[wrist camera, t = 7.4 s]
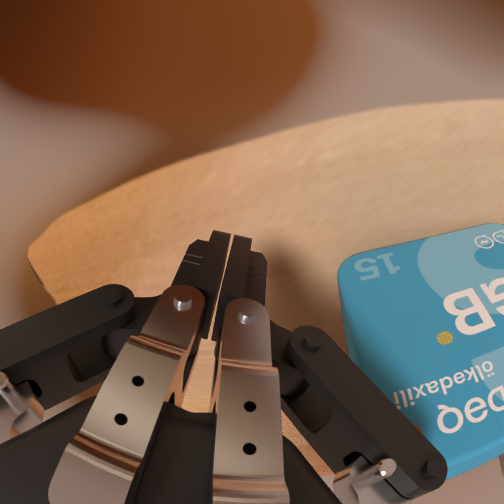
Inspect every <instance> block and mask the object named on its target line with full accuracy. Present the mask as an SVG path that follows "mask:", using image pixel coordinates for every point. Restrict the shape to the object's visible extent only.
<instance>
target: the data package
mask: <svg viewBox="0 0 504 504" xmlns="http://www.w3.org/2000/svg"><path fill="white" fill-rule="evenodd" d="M337 279H338V286H339V293H340V301H341V310H342V318H343V327H344V334H345V338H346V343H347V348H348V354H349V358H350V359H351V360H352V361H353V362H354V363H355V364H356V365H357V366H358V367H359V368H360V369H361V370H362V371H363V373H364V374H365V375H366V376H367V377H368V378H369V379H370V380H371V381H372V382H373V383H374V384H375V385H376V386H377V387H378V388H379V389H380V390H381V391H382V392H383V393H384V394H385V396H386V397H387V398H388V399H389V400H390V401H391V402H392V403H393V404H394V405H395V406H396V407H397V408H398V409H399V410H400V411H401V412H402V413H403V414H404V415H405V416H406V417H407V418H408V420H409V421H410V422H411V423H412V424H413V425H414V426H415V427H416V428H417V429H418V430H419V431H420V432H421V433H422V434H423V435H424V436H425V437H426V438H427V439H428V440H429V441H430V442H431V443H432V444H433V446H434V447H435V448H436V449H437V450H438V451H439V452H440V453H441V454H442V455H443V456H444V458H445V460H446V462H447V467H448V472H447V477H446V479H445V480H447V479H449V478H452V477H454V476H457V475H459V474H462V473H464V472H466V471H469V470H471V469H473V468H475V467H478V466H480V465H482V464H484V463H486V462H488V461H490V460H492V459H494V458H496V457H498V456H500V455H501V454H503V453H504V225H502V224H497V223H488V224H484V225H479V226H475V227H471V228H467V229H463V230H459V231H455V232H451V233H446V234H442V235H438V236H434V237H429V238H425V239H421V240H416V241H412V242H408V243H403V244H399V245H394V246H390V247H385V248H381V249H376V250H372V251H367V252H362V253H359V254H356V255H353V256H351V257H350V258H348V259H347V260H345V261H344V262H343V263H342V265H341V266H340V268H339V270H338V274H337Z"/></svg>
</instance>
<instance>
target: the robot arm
mask: <svg viewBox="0 0 504 504" xmlns="http://www.w3.org/2000/svg"><path fill="white" fill-rule="evenodd" d="M230 237H231V234H229V233H225V232H220V231H215V230H213V232H212V234H211V237H210V240H209V242H208V241H203V240H199V239H197V240H196V241H195V242H193V243H192V244H190V245H189V247H188V249H187V251H186V254H185V256H184V258H183V261H182V262H181V264H180V267H179V269H178V271H177V273H176V275H175V278H174V280H173V282H172V284H171V286H170V287H168V288H167V289H166V290H164V291H163V293H162V294H161V295H159V296H155V297H134V295H133V293H132V291H131V290H130V289H128V288H127V287H125V286H122V285H118V284H109V285H105V286H102V287H100V288H97V289H95V290H92V291H90V292H88V293H85V294H83V295H80V296H78V297H76V298H73V299H71V300H68V301H66V302H64V303H61V304H59V305H56V306H54V307H52V308H49V309H47V310H45V311H42V312H40V313H37V314H35V315H33V316H30V317H28V318H26V319H24V320H22V321H19V322H17V323H14V324H12V325H10V326H7V327H5V328H3V329H1V330H0V504H410V503H411V502H412V501H413V500H414V499H416V498H419V497H420V496H422V495H424V494H426V493H429V492H431V491H433V490H436V489H437V488H439V487H440V486H441V485H442V484H443V483H444V481H445V479H446V477H447V472H448V467H447V462H446V460H445V458H444V456H443V455H442V454H441V453H440V452H439V451H438V450H437V449H436V448H435V447H434V446H433V444H432V443H431V442H430V441H429V440H428V439H427V438H426V437H425V436H424V435H423V434H422V433H421V432H420V431H419V430H418V429H417V428H416V427H415V426H414V425H413V424H412V423H411V422H410V421H409V420H408V418H407V417H406V416H405V415H404V414H403V413H402V412H401V411H400V410H399V409H398V408H397V407H396V406H395V405H394V404H393V403H392V402H391V401H390V400H389V399H388V398H387V397H386V396H385V394H384V393H383V392H382V391H381V390H380V389H379V388H378V387H377V386H376V385H375V384H374V383H373V382H372V381H371V380H370V379H369V378H368V377H367V376H366V375H365V374H364V373H363V371H362V370H361V369H360V368H359V367H358V366H357V365H356V364H355V363H354V362H353V361H352V360H351V359H350V358H349V357H348V356H347V355H346V354H345V353H344V352H343V351H342V349H341V348H340V347H339V346H338V345H337V344H336V343H335V342H334V341H333V340H332V339H331V338H330V337H329V336H328V335H327V334H326V333H325V332H324V331H322V330H320V329H318V328H316V327H313V326H301V327H298V328H296V329H295V330H294V331H293V332H291V331H289V330H286V329H284V328H282V327H280V326H278V325H276V324H275V323H274V322H272V321H271V320H270V317H269V313H268V311H267V309H266V308H265V289H266V271H267V261H266V259H265V257H264V256H263V254H262V253H258V252H253V251H250V249H251V242H252V238H247V237H243V236H238V235H234V238H233V242H232V246H231V250H230V254H229V258H228V262H227V266H226V270H225V274H224V278H223V282H222V287H221V291H220V295H219V301H218V306H217V311H216V317H215V322H214V328H213V333H212V339H211V340H212V341H216V346H215V351H214V355H215V361H214V370H213V379H212V388H211V398H210V407H209V413H192V412H189V411H186V410H184V409H182V408H181V407H182V402H183V399H184V395H185V392H186V389H187V386H188V383H189V380H190V377H191V374H192V371H193V369H194V366H195V363H196V360H197V357H198V351H199V345H200V341H201V338H203V339H207V338H208V334H209V330H210V326H211V321H212V317H213V313H214V309H215V305H216V301H217V297H218V293H219V289H220V285H221V281H222V276H223V272H224V267H225V262H226V257H227V252H228V247H229V242H230ZM104 380H105V382H104V384H103V386H102V388H101V390H100V391H99V393H98V395H97V396H93V397H90V398H88V399H85V400H83V401H81V402H79V403H78V404H76V405H74V406H72V407H70V408H69V409H67V410H65V411H63V412H61V413H59V414H57V415H56V416H54V417H52V418H50V419H48V420H46V421H45V422H42V420H43V417H44V411H45V410H47V409H49V408H51V407H53V406H55V405H57V404H59V403H61V402H63V401H65V400H67V399H69V398H71V397H73V396H75V395H77V394H79V393H81V392H83V391H85V390H87V389H89V388H90V387H92V386H94V385H96V384H98V383H100V382H102V381H104ZM281 409H282V411H283V412H284V413H285V414H286V416H287V417H288V418H289V420H290V421H291V422H292V423H293V424H294V426H295V427H296V428H297V429H298V431H299V432H300V433H301V434H302V436H303V437H304V438H305V439H306V440H307V442H308V443H309V444H310V445H311V446H312V448H313V449H314V450H315V451H316V452H317V454H318V455H319V456H320V457H321V458H322V459H323V461H324V462H325V463H326V464H327V465H328V466H329V467H330V469H331V470H332V471H333V472H334V473H335V474H336V475H335V478H334V481H333V488H334V493H335V494H336V495H337V497H338V498H339V499H338V498H337V497H336V495H335V494H334V493H333V492H332V491H331V489H330V488H329V487H328V486H327V485H326V483H325V482H324V481H323V480H322V479H321V477H320V476H319V475H318V474H317V472H316V471H315V470H314V469H313V467H312V466H311V465H310V464H309V462H308V461H307V460H306V458H305V457H304V456H303V455H302V453H301V452H300V451H299V450H298V448H297V447H296V446H295V445H294V444H293V443H292V442H291V441H290V440H288V439H287V438H286V437H285V436H283V435H282V421H281ZM499 459H500V465H501V471H502V475H503V476H504V453H503V454H501V455H500V456H499Z"/></svg>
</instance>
